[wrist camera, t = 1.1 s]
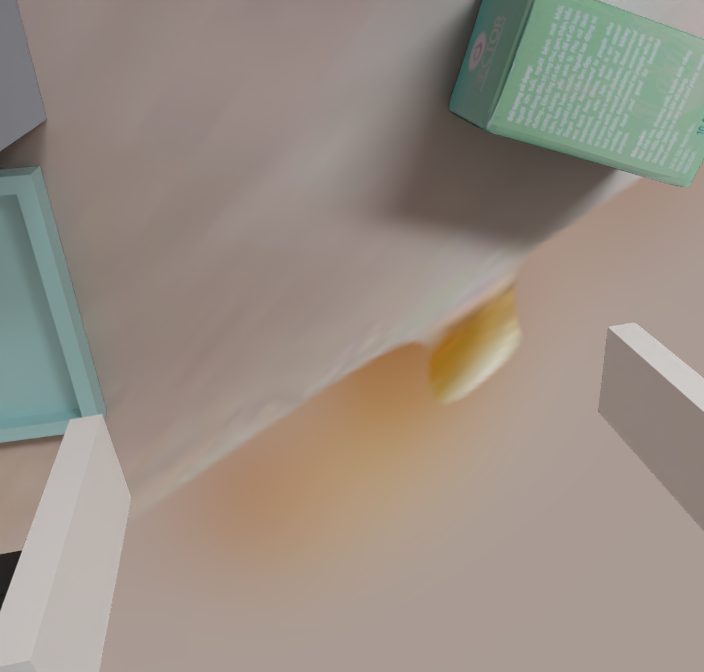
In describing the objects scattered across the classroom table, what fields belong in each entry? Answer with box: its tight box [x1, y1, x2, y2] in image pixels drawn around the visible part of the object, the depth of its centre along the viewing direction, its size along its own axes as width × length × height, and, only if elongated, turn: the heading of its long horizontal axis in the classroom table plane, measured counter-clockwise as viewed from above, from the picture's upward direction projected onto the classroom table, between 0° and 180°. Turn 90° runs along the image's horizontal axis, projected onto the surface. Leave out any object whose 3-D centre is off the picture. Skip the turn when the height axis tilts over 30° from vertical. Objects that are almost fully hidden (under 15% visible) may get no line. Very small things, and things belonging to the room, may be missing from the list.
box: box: [449, 0, 704, 187], centre depth 36 cm, size 7×14×8 cm, turn 75°
